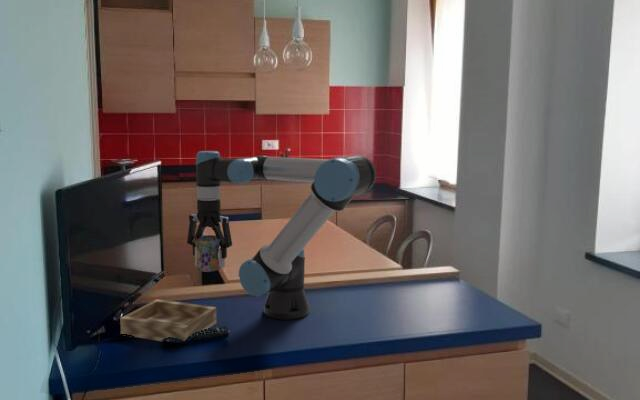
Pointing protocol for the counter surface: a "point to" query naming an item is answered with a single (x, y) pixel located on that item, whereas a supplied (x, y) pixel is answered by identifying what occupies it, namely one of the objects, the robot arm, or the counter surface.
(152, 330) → the wooden tray
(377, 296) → the counter surface
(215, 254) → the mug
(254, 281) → the robot arm
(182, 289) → the counter surface
